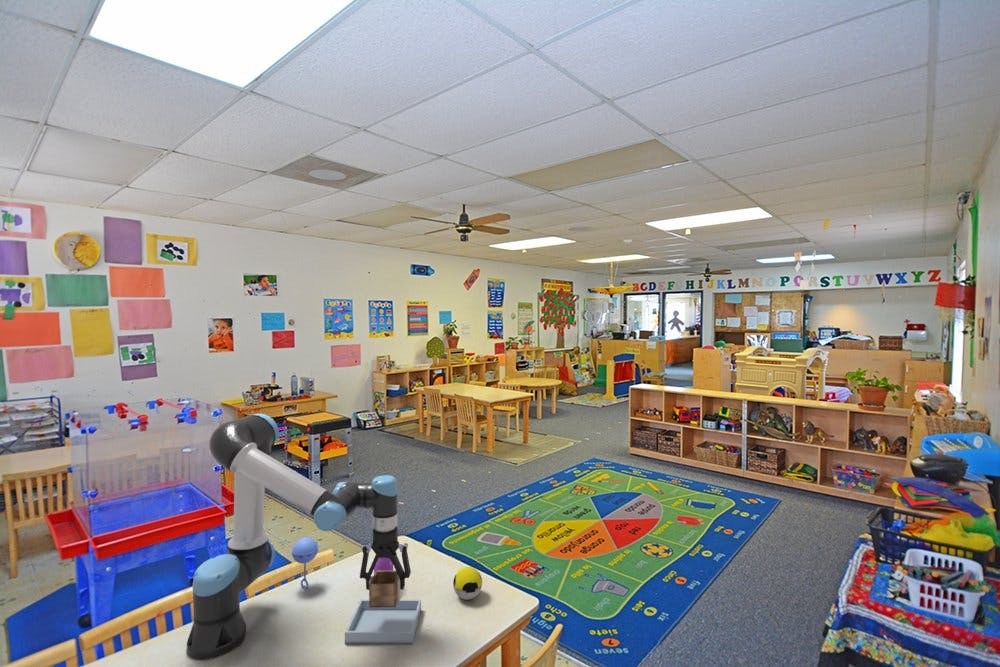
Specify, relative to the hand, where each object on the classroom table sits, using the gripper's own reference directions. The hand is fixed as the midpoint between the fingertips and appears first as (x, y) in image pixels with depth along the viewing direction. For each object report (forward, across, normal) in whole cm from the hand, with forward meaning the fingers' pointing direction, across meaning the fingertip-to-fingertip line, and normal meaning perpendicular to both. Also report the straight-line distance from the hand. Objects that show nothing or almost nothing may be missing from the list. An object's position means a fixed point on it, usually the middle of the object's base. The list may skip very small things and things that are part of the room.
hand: (385, 598), depth 144 cm
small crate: (0, 0, 0) cm, 0 cm away
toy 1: (+9, -5, +19) cm, 22 cm away
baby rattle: (+9, -33, +20) cm, 40 cm away
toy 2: (+9, +25, +15) cm, 30 cm away
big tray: (+9, 0, 0) cm, 9 cm away
